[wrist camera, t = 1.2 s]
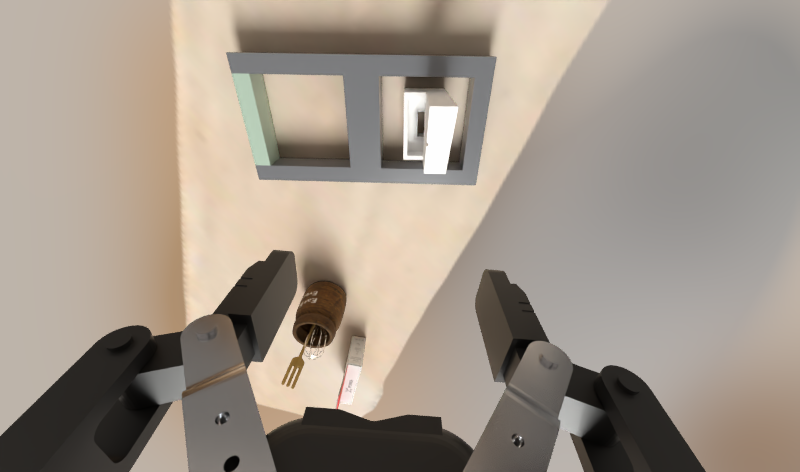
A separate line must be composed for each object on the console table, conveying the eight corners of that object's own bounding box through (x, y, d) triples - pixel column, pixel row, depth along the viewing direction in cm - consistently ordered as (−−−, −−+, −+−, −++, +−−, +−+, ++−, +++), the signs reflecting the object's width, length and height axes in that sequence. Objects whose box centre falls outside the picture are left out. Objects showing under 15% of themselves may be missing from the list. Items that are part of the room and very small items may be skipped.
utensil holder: (355, 292, 41) (336, 370, 31) (334, 316, 44) (310, 396, 34) (318, 272, 40) (285, 349, 30) (298, 299, 42) (262, 377, 32)
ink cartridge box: (366, 337, 47) (357, 398, 38) (356, 376, 53) (346, 436, 44) (351, 334, 46) (338, 395, 38) (343, 373, 52) (330, 434, 44)
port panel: (241, 52, 26) (226, 52, 24) (489, 56, 26) (496, 56, 23) (269, 170, 32) (259, 179, 30) (471, 176, 31) (475, 185, 29)
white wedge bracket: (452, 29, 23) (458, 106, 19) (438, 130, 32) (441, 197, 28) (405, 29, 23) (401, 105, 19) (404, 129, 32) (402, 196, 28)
